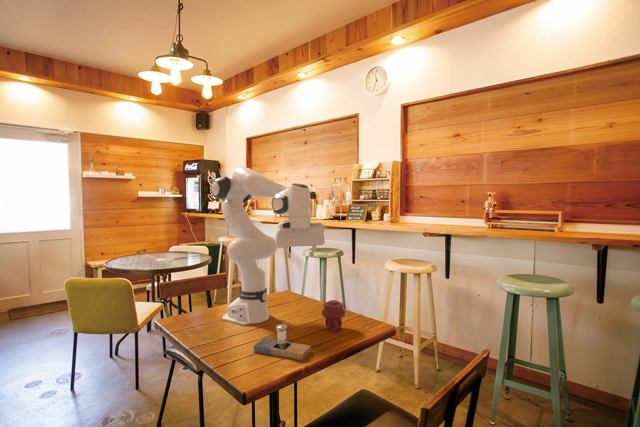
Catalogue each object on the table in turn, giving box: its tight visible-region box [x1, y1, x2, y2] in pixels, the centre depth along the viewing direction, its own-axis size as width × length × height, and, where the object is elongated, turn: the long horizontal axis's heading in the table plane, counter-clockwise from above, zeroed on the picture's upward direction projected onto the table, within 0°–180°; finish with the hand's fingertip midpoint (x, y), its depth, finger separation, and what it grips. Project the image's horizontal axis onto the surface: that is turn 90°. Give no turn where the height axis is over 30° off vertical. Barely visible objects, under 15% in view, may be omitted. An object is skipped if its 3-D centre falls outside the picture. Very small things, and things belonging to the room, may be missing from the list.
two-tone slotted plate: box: [253, 337, 312, 362], centre depth 124 cm, size 20×7×2 cm, turn 69°
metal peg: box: [275, 323, 288, 350], centre depth 124 cm, size 4×4×10 cm
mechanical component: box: [321, 299, 346, 333], centre depth 145 cm, size 12×10×10 cm
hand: (300, 257), depth 136 cm, fingers open, 8 cm apart
